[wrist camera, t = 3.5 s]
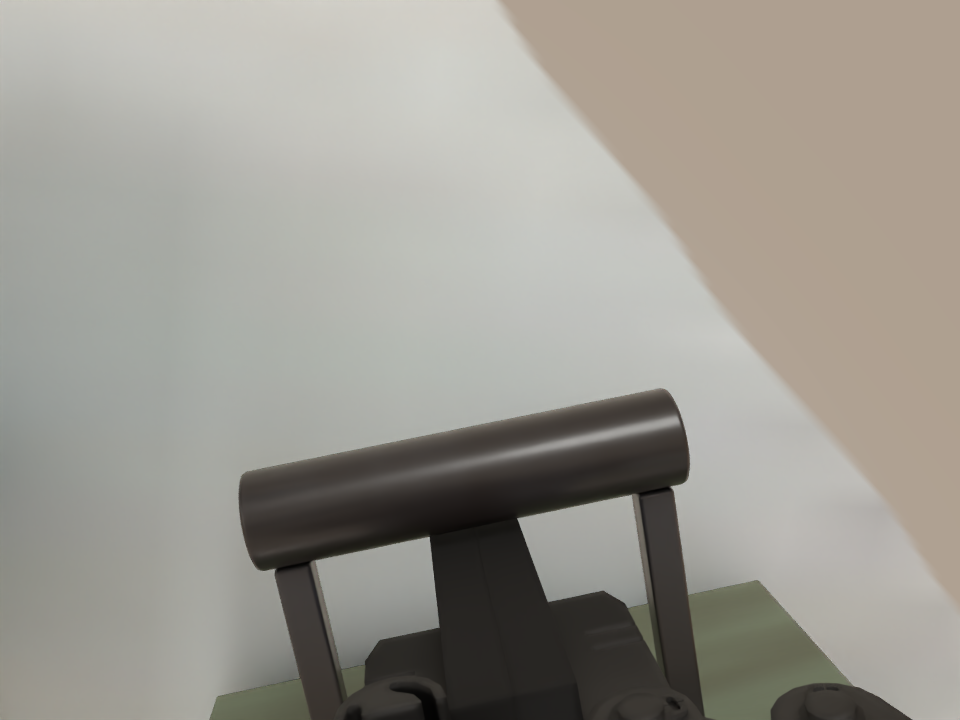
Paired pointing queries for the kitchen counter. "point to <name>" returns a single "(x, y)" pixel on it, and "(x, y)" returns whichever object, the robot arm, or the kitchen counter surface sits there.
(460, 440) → the drawer
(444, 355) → the kitchen counter surface
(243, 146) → the kitchen counter surface
